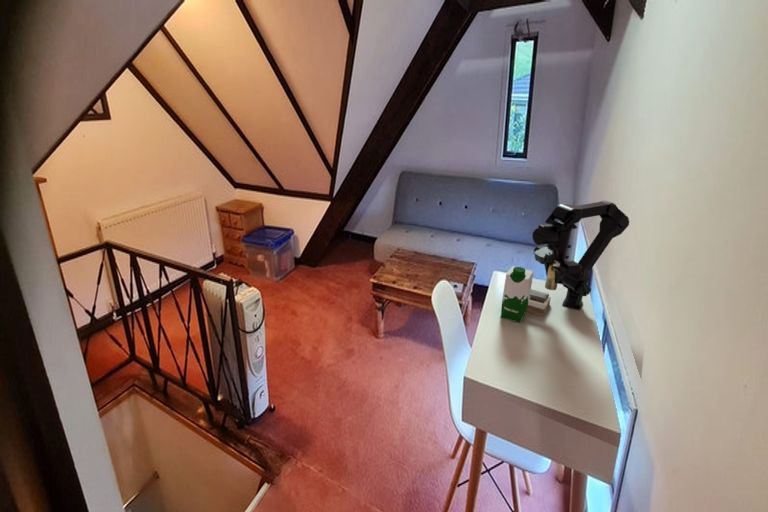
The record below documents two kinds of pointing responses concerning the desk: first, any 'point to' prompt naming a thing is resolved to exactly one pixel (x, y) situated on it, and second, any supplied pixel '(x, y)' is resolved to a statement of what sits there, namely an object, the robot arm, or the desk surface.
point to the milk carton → (516, 293)
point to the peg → (551, 277)
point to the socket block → (538, 302)
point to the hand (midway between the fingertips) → (552, 280)
